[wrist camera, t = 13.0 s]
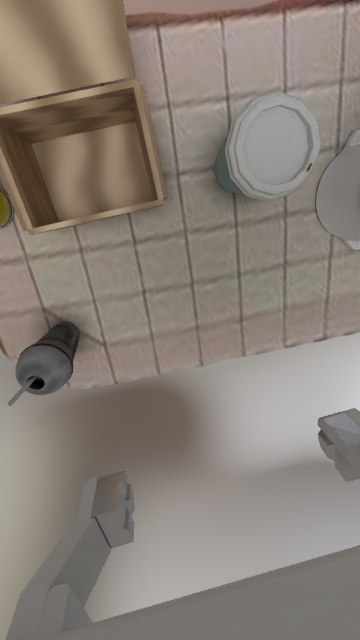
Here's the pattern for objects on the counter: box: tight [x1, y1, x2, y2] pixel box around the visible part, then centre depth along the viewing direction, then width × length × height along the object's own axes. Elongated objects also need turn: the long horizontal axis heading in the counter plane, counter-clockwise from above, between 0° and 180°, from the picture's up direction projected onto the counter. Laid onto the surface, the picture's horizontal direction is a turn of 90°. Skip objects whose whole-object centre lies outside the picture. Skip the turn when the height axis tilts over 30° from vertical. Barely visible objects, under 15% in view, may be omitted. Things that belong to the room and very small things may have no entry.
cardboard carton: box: [0, 79, 168, 235], centre depth 36 cm, size 17×12×12 cm
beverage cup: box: [8, 322, 80, 406], centre depth 40 cm, size 7×7×20 cm
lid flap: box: [0, 0, 135, 104], centre depth 22 cm, size 16×12×1 cm
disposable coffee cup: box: [214, 91, 321, 202], centre depth 36 cm, size 11×11×15 cm
